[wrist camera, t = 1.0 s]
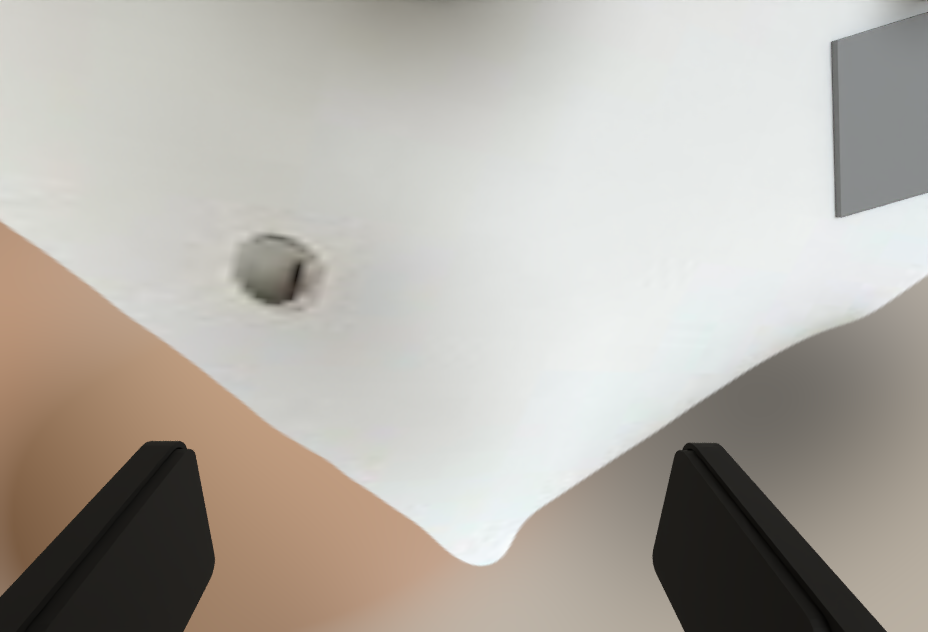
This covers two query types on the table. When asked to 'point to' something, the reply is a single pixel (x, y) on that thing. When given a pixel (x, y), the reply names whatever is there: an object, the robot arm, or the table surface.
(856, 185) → the mat
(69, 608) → the robot arm
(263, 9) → the table surface
